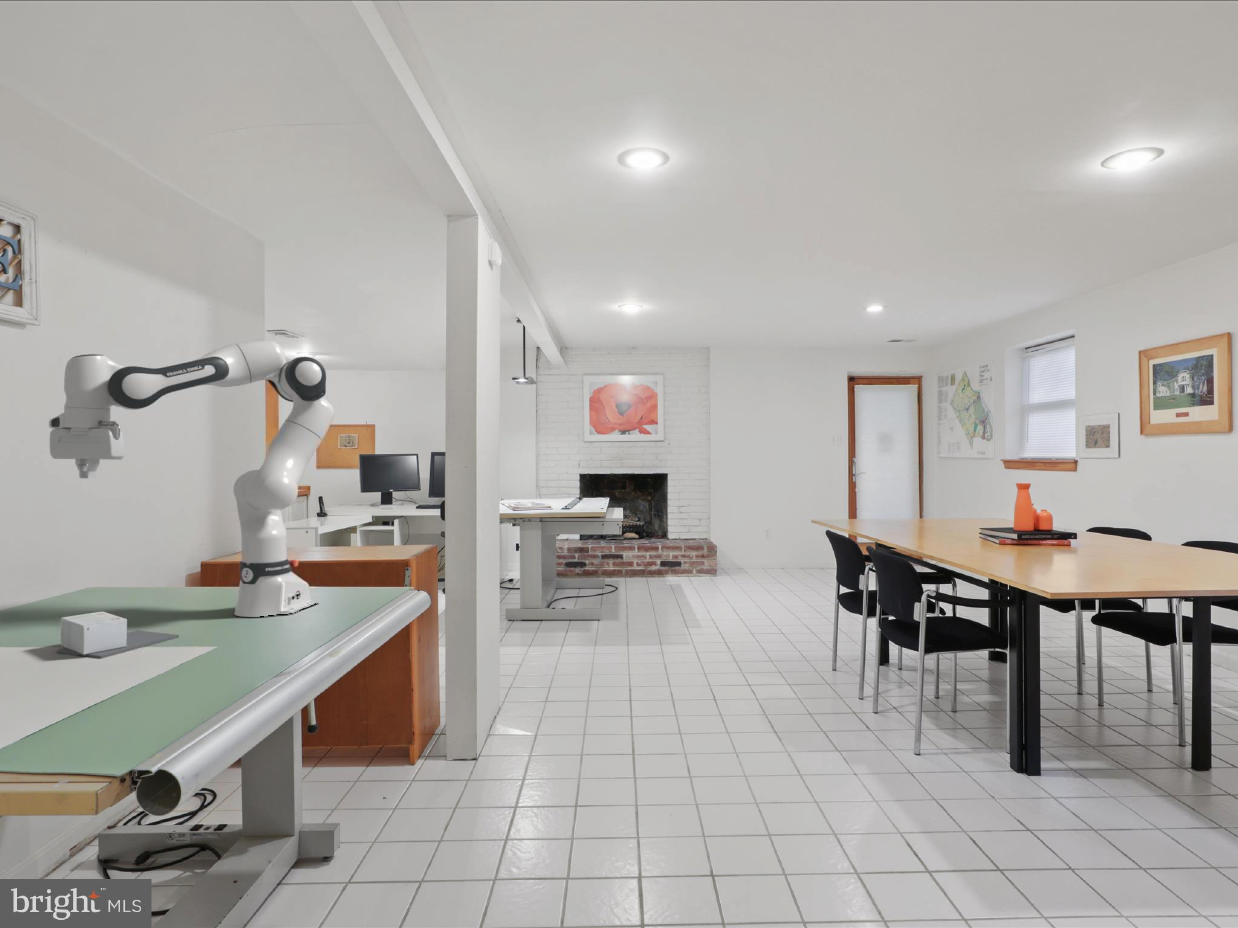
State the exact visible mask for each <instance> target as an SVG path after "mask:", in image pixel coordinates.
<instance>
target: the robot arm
mask: <svg viewBox="0 0 1238 928" xmlns="http://www.w3.org/2000/svg"><path fill="white" fill-rule="evenodd" d="M265 380H266V381H268V383H269V385H270V386H271V387H272V388H273V389H274V390H275V392H276V394H278V396H279V397H281V398H282V399H283V400H285V401H288V402H292V403H293V404H292V409H291V412H290V413H289V414H288V416H287V417H286V419H285V420H284V422H283V423H282V425H281V427H279V429H278V431H277V432H276V433H275V436H273V438H272V439H271V441H270V443H269V444H268V449H267V453H266V456H265V458H264V461H263V463H262V465H261V467H260V468H259V469H253V470H252V469H251V470H249V471H246V472H244V473H242V475H241V476H239V477H237V478H236V480H235V481H234V485H233V494H234V497H235V499H236V500H235V501H236V507H237V515H238V519H239V525H240V526H239V527H240V531H241V533H240V534H241V561H240V562H239V576H240V581H239V587H238V594H237V602H236V605H235V607H234V613H233V615H235V616H238V617H244V618H261V617H260V616H264V617H269V616H268V615H274V616H277V615H276V614H281V613H290V612H294V611H295V610H297V609H300V608H301V607H304V606H307V605H308V604H311V603H314V602H310V601H313V600H310V599H311V598H312V597H311V590H310V589H311V588H310V585H309V583H308V582H307V581H305V580H304V579H302V578H301V577H299V576H298V575H297V574H296V573H294V572H293V570H292V567H298V566H299V560H298V559H293V558H290V560H289V559H288V532H287V531H288V530H287V528H286V526H285V523H284V520H283V519H284V518H283V515H282V511H281V510H284V509H286V508H289V507H290V506H291V505H293V504H294V502H295V501H296V500H297V498H298V495H299V489H298V488H299V487H300V483H301V480H302V478H303V476H304V473H305V470H306V467H307V466H308V464H309V462H310V460H311V459H312V457H313V456H314V454H315V452H316V451H317V449H318V448H319V446H321V445H320V444H321V443H322V441H323V440H324V438H325V437H326V434H327V433H328V430H329V429H330V426H331V424H332V422H333V419H334V417H335V408H334V407H333V405H332V404H331V403H330V402H329V401H328V400H327V399H325V398H324V396H326V392H327V391H326V388H327V387H326V386H327V385H326V384H327V373H326V370H325V367H324V365H323V364H322V363H321V362H320V361H319V360H317V359H316V358H313V357H311V356H299V357H295V358H293V359H291V358H289V357H287V355H286V354H285V351H284V349H283V348H282V347H281V345H280V344H279V343H278V342H276V341H274V340H271V339H270V340H269V339H266V340H265V339H261V340H252V341H243V342H239V343H233V344H229V345H225V346H223V347H219V348H217V349H214V350H212V351H210V352H208V353H206V354H204V355H203V356H201V357H199V358H196V359H194V360H190V361H187V362H182V363H178V364H173V365H167V366H164V367H158V368H152V367H151V368H150V367H143V366H123V365H121V364H119V363H116V361H113V360H111V359H110V358H109V357H107V356H106V355H103V354H98V353H97V354H95V353H94V354H92V353H90V354H89V353H88V354H80V355H75V356H73V357H72V358H70V359H69V360H68V361H67V363H66V365H65V369H64V380H63V381H64V383H63V391H64V393H65V398H66V399H65V403H64V407H63V412H62V413H60V414H59V415H57V416H55V417H52V418H51V419H49V421H48V427H49V428H50V429H52V430H50V433H49V455H50V456H51V458H52V459H54V460H75V461H74V462H75V466H76V468H77V470H78V473H79V474H78V477H79V478H80V479H95V478H96V475H97V474H96V472H97V469H98V468H99V466H100V460H118V461H119V460H123V459H124V457H125V453H126V451H125V440H124V435H123V432H122V430H121V425H119V424H118V423H117V422H116V421H115V420H111V407H112V406H114V407H117V408H122V409H124V410H133V411H135V410H137V411H138V410H141V409H144V408H147V407H149V406H151V405H153V404H154V403H156V402H157V401H158V400H160V399H161V398H162V397H164V396H166V395H168V394H171V393H175V392H178V391H182V390H187V389H191V388H195V387H200V386H215V387H216V386H217V387H220V388H232V387H239V386H244V385H249V384H253V383H256V382H260V381H265ZM315 599H316V600H318V599H317V598H315ZM307 603H308V604H307Z"/></svg>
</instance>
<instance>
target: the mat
mask: <svg viewBox="0 0 1238 928" xmlns="http://www.w3.org/2000/svg"><path fill="white" fill-rule="evenodd" d="M179 637H180V635H179V634H174V633H165V632H157V631H155V632H154V631H145V630H132V631H130V632H127V638H126V647H122V648H117V649H112V650H106V651H101V652H96V653H91V654H85V655H83V654H81V653H78V652H76V651H73V650H71V649H68V648H66V647H63V648H61V649H57V650H56V653H57V652H59V653H58V654H63V653H67V654H66V655H71V654H72V656H79V655H81V656H80V657H87V656H89V658H97V659H104V658H107V656H108V657H111V656H114V655H118V653H119V654H121V653H126V652H129V651H133V650H137V649H139V648H145V647H147V646H151V645H154V644H159V643H161V642H166V641H170V640H173V639H178V638H179Z"/></svg>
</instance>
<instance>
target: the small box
mask: <svg viewBox="0 0 1238 928" xmlns="http://www.w3.org/2000/svg"><path fill="white" fill-rule="evenodd" d="M127 629H128V619H127V618H124V617H122V616H118V615H115V614H111V613H108V612H106V611H97V612H91V613H84V614H76V615H70V616H63V617H61V618H60V646H61V647H63V648H68V649H71V650H73V651H76V652H78V653H81V654H83V655H85V654H91V653H96V652H101V651H106V650H112V649H117V648H122V647H126V638H127V633H128V632H127V631H128V630H127Z"/></svg>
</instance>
